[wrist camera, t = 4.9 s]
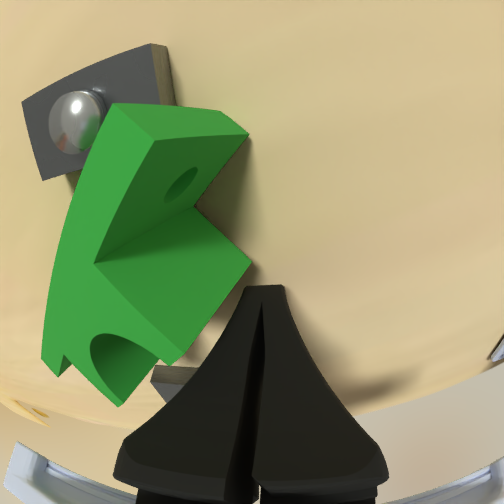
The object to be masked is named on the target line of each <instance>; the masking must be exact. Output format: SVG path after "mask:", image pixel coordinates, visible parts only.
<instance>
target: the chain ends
mask: <svg viewBox="0 0 504 504" xmlns="http://www.w3.org/2000/svg"><path fill="white" fill-rule="evenodd" d="M113 103H131V104H154V105H169V106H176V103H175V97H174V91H173V85H172V79H171V73H170V67H169V60H168V54H167V47H166V46H163V45H157V44H152V43H150V44H147V45H143V46H140V47H137V48H134V49H131V50H128V51H125V52H123V53H120V54H117V55H115V56H112V57H109V58H107V59H104V60H102V61H99V62H97V63H95V64H92V65H90V66H88V67H85V68H83V69H81V70H79V71H77V72H75V73H73V74H70V75H68V76H66V77H64V78H62V79H61V80H59V81H57V82H55V83H53V84H51V85H49V86H47V87H46V88H44V89H42V90H40V91H39V92H37V93H35V94H33V95H32V96H30V97H28V98H27V99H25V100H24V101H22V107H23V112H24V117H25V121H26V125H27V130H28V134H29V138H30V141H31V145H32V149H33V152H34V156H35V159H36V162H37V166H38V169H39V172H40V175H41V178H42V181H44V180H47V179H50V178H53V177H57V176H60V175H63V174H66V173H70V172H73V171H77V170H80V169H83V167H84V165H85V162H86V160H87V157H88V155H89V152H90V150H91V148H92V145H93V143H94V141H95V139H96V136H97V134H98V132H99V130H100V128H101V126H102V124H103V121H104V119H105V117H106V115H107V113H108V111H109V109H110V108H111V106H112V104H113ZM197 370H198V368H187V367H172V366H159V365H155V367H154V370H153V374H152V377H151V380H150V382H151V384H152V385H153V386H154V388H155V389H156V390H157V391H158V393H159V394H160V395H161V396H162V398H163V399H164V400H165V401H166V403H168V402H169V401H170V400H171V399H172V398H173V397H174V396H175V395H176V394H177V393H178V392H179V391H180V390H181V388H182V387H183V386H184V385H185V384H186V383H187V382H188V380H189V379H190V378H191V377H192V376H193V375H194V373H195V372H196V371H197Z"/></svg>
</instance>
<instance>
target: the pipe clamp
mask: <svg viewBox="0 0 504 504" xmlns="http://www.w3.org/2000/svg"><path fill="white" fill-rule="evenodd" d="M248 136H249V133H248V132H246V131H245V130H244V129H243V128H242V127H240V126H239V125H238V124H237V123H235V122H234V121H233V120H232V119H231V118H229V117H228V116H226V115H225V114H224V113H222V112H221V111H216V110H208V109H200V108H191V107H181V106H169V105H154V104H131V103H113V104H112V106H111V108H110V109H109V111H108V113H107V115H106V117H105V119H104V121H103V124H102V126H101V128H100V130H99V132H98V134H97V136H96V139H95V141H94V143H93V145H92V148H91V150H90V152H89V155H88V157H87V160H86V162H85V165H84V167H83V170H82V172H81V175H80V178H79V180H78V183H77V186H76V189H75V192H74V195H73V197H72V200H71V204H70V207H69V210H68V213H67V216H66V220H65V223H64V227H63V230H62V234H61V238H60V241H59V245H58V249H57V254H56V258H55V262H54V267H53V272H52V277H51V282H50V287H49V293H48V299H47V306H46V313H45V320H44V329H43V339H42V352H41V359H42V360H43V361H44V363H45V364H46V365H47V366H48V367H49V368H50V369H51V370H52V372H53V373H54V374H55V375H56V376H57V377H59V376H60V375H61V374H62V373H63V372H64V371H65V370H66V369H67V368H68V367H69V366H70V365H72V364H73V365H74V366H75V367H76V368H77V369H78V370H79V371H80V372H81V373H82V374H83V375H84V376H85V377H86V378H87V379H88V380H89V381H90V382H91V383H92V384H93V385H94V386H95V387H96V388H97V389H98V390H99V391H100V392H101V393H102V394H103V395H105V396H106V397H107V398H108V399H109V400H110V401H111V402H112V403H114V404H115V405H116V406H117V407H119V406H121V405H122V404H123V403H124V402H125V401H126V400H127V398H128V397H129V396H130V395H131V393H132V392H133V391H134V390H135V389H136V387H137V386H138V385H139V384H140V382H141V381H142V380H143V379H144V377H145V376H146V375H147V374H148V373H149V371H150V370H151V369H152V368H153V366H154V365H155V364H156V363H157V361H158V360H159V359H161V360H162V361H163V362H164V363H166V364H167V365H168V366H170V365H172V364H173V363H174V362H175V361H177V360H178V359H179V358H180V357H181V356H183V355H184V354H185V353H186V351H187V350H188V348H189V347H190V346H191V344H192V343H193V342H194V340H195V339H196V338H197V336H198V335H199V334H200V332H201V331H202V329H203V328H204V327H205V325H206V324H207V323H208V321H209V320H210V319H211V317H212V316H213V314H214V313H215V312H216V310H217V309H218V308H219V306H220V305H221V304H222V302H223V301H224V299H225V298H226V297H227V295H228V294H229V293H230V291H231V290H232V289H233V287H234V286H235V284H236V283H237V282H238V280H239V279H240V278H241V276H242V275H243V273H244V272H245V271H246V269H247V268H248V267H249V265H250V264H251V262H252V261H251V260H250V259H249V258H248V257H247V256H246V255H245V254H244V253H243V252H241V251H240V250H239V249H238V248H237V247H236V246H235V245H234V244H233V243H232V242H231V241H230V240H229V239H228V238H226V237H225V236H224V235H223V234H222V233H221V232H220V231H219V230H218V229H217V228H216V227H215V226H214V225H213V224H212V223H210V222H209V221H208V220H207V219H206V218H205V217H204V216H203V215H202V214H201V213H200V212H199V211H198V210H197V209H196V208H194V207H193V206H194V205H195V203H196V202H197V201H198V199H199V198H200V197H201V195H202V194H203V193H204V191H205V190H206V189H207V187H208V186H209V185H210V183H211V182H212V181H213V179H214V178H215V177H216V175H217V174H218V173H219V172H220V170H221V169H222V168H223V166H224V165H225V164H226V163H227V161H228V160H229V159H230V158H231V156H232V155H233V154H234V153H235V151H236V150H237V149H238V148H239V146H240V145H241V144H242V143H243V142H244V140H245V139H246V138H247V137H248Z"/></svg>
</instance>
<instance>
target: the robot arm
mask: <svg viewBox="0 0 504 504" xmlns="http://www.w3.org/2000/svg"><path fill="white" fill-rule="evenodd" d="M503 358H504V338H503V340H502V341H501V343H500V344H499V346H498V347H497V349H496V350H495V351H494V353H493V354H492V356H491V360H492V361H493V362H495V361H497V360H500V359H503ZM113 477H114V478H115V479H116V480H119V481H121V482H123V483H126V484H128V485H131V486H133V487H136V488H138V493H137V496H136V495H133V494H130V493H127V492H124V491H121V490H118V489H115V488H112V487H109V486H106V485H104V484H101V483H98V482H96V481H93V480H91V479H88V478H86V477H84V476H81V475H79V474H76V473H74V472H72V471H70V470H68V469H66V468H64V467H62V466H60V465H58V464H56V463H54V462H52V461H50V460H48V459H47V458H45V457H44V456H42V455H40V454H38V453H37V452H35V451H33V450H31V449H30V448H28V447H26V446H24V445H23V444H22V443H20V442H16V445H15V447H14V450H13V453H12V456H11V459H10V463H9V466H8V469H7V473H6V476H5V480H4V484H3V485H4V487H5V488H6V489H8V490H9V491H10V492H11V493H13V494H14V495H15V496H16V497H18V498H19V499H20V500H21V501H22V502H24V503H25V504H253V503H254V502H255V501H257V500H258V499H259V485H260V486H261V494H260V504H375V497H377V486H378V485H380V484H382V483H384V482H385V481H387V480H388V478H389V472H388V468H387V465H386V461H385V459H384V456H383V454H382V452H381V449H380V447H379V446H378V444H377V443H376V442H375V441H374V440H373V439H372V438H371V437H370V436H369V435H368V434H367V433H366V432H365V430H364V429H363V428H362V427H361V426H360V425H359V424H358V423H357V422H356V420H355V419H354V418H353V417H352V415H351V414H350V413H349V412H348V411H347V409H346V408H345V407H344V405H343V404H342V403H341V401H340V400H339V399H338V397H337V396H336V395H335V393H334V392H333V391H332V389H331V388H330V387H329V385H328V383H327V382H326V380H325V379H324V377H323V376H322V374H321V373H320V371H319V369H318V368H317V366H316V365H315V363H314V361H313V359H312V358H311V356H310V354H309V352H308V350H307V348H306V346H305V344H304V342H303V340H302V338H301V336H300V334H299V332H298V329H297V327H296V325H295V322H294V320H293V317H292V315H291V312H290V309H289V306H288V303H287V299H286V295H285V288H284V286H283V285H261V286H246V287H245V288H244V290H243V293H242V295H241V298H240V300H239V302H238V305H237V307H236V309H235V311H234V313H233V315H232V317H231V319H230V320H229V322H228V324H227V326H226V328H225V329H224V331H223V333H222V335H221V336H220V338H219V339H218V341H217V342H216V344H215V346H214V347H213V349H212V350H211V352H210V353H209V355H208V356H207V357H206V359H205V360H204V362H203V363H202V364H201V366H200V367H199V368H198V370H197V371H196V372H195V373H194V375H193V376H192V377H191V378H190V379H189V380H188V382H187V383H186V384H185V385H184V386H183V387H182V388H181V390H180V391H179V392H178V393H177V394H176V395H175V396H174V397H173V398H172V399H171V400H170V401H169V402H168V403H167V404H166V405H165V406H164V407H162V408H161V409H160V410H159V411H158V412H157V413H156V414H155V415H154V416H153V417H152V418H150V419H149V420H148V421H147V422H146V423H144V424H143V425H142V426H140V427H139V428H138V429H137V430H135V431H134V432H133V433H131V434H130V435H129V436H127V437H126V438H125V439H124V440H123V443H122V446H121V448H120V450H119V453H118V456H117V460H116V464H115V468H114V472H113ZM384 504H504V456H503V457H501V458H500V459H498V460H496V461H495V462H493V463H491V464H490V465H488V466H486V467H484V468H482V469H480V470H478V471H476V472H474V473H471V474H470V475H467V476H465V477H463V478H460V479H458V480H456V481H453V482H451V483H448V484H446V485H443V486H440V487H438V488H435V489H432V490H429V491H426V492H423V493H420V494H417V495H413V496H410V497H407V498H403V499H399V500H396V501H392V502H387V503H384Z"/></svg>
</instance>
